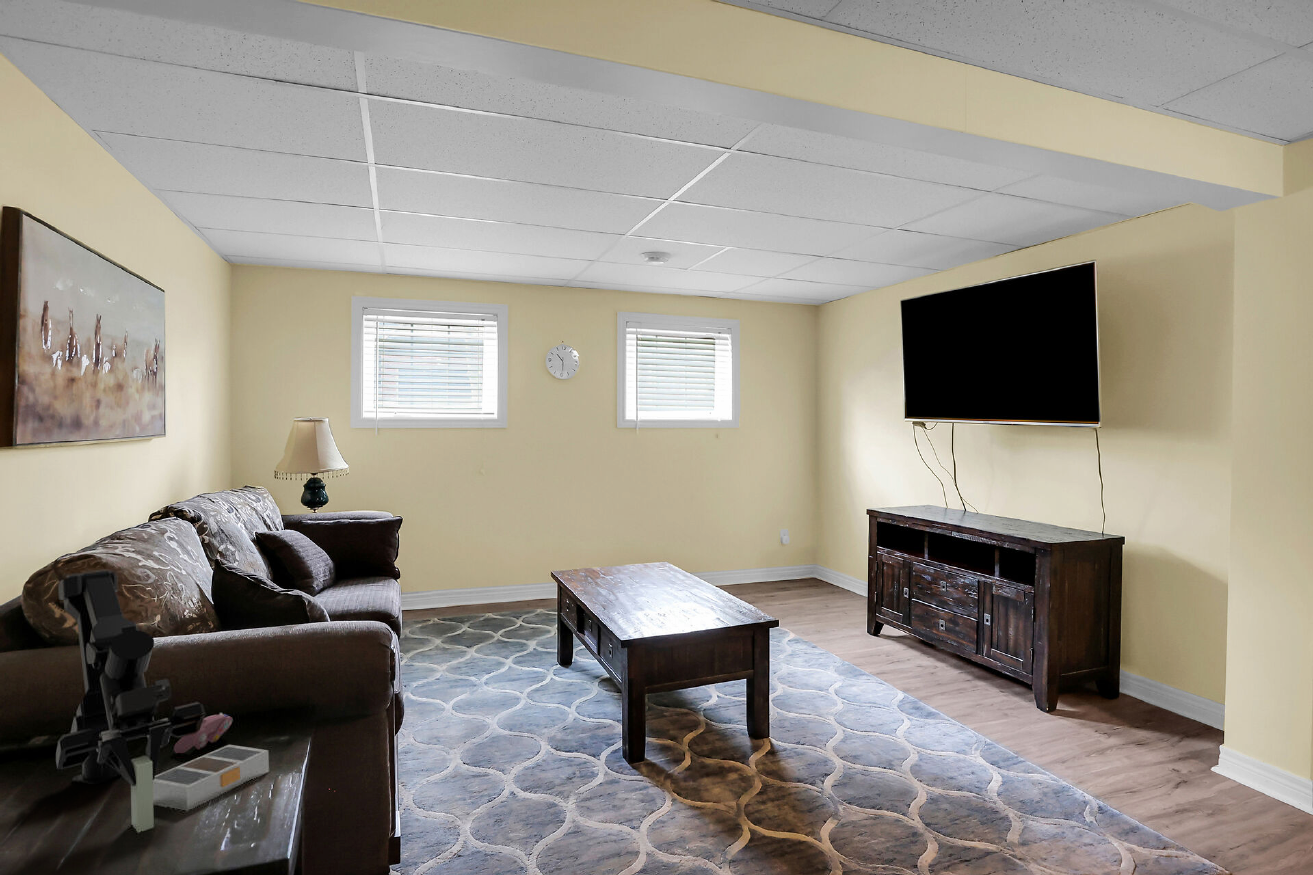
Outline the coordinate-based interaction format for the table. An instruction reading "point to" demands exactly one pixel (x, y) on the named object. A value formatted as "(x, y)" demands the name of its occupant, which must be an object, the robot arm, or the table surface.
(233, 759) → the rack
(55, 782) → the table surface
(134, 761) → the pale green rectangular block
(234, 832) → the table surface
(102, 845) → the table surface
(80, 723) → the robot arm
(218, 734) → the video game controller
